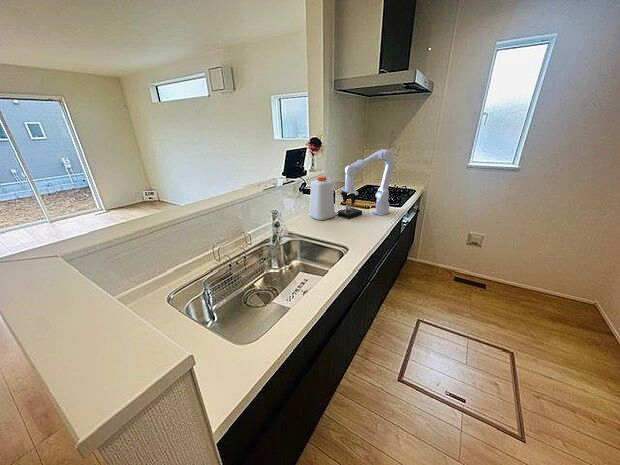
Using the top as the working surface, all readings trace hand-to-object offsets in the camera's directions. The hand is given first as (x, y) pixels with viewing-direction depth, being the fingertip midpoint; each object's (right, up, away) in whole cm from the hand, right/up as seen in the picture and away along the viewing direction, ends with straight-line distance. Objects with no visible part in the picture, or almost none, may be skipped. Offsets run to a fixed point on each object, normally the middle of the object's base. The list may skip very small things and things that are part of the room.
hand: (348, 203), depth 175 cm
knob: (0, -5, +3) cm, 6 cm away
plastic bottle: (-19, -9, +3) cm, 21 cm away
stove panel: (+2, -8, +4) cm, 9 cm away
